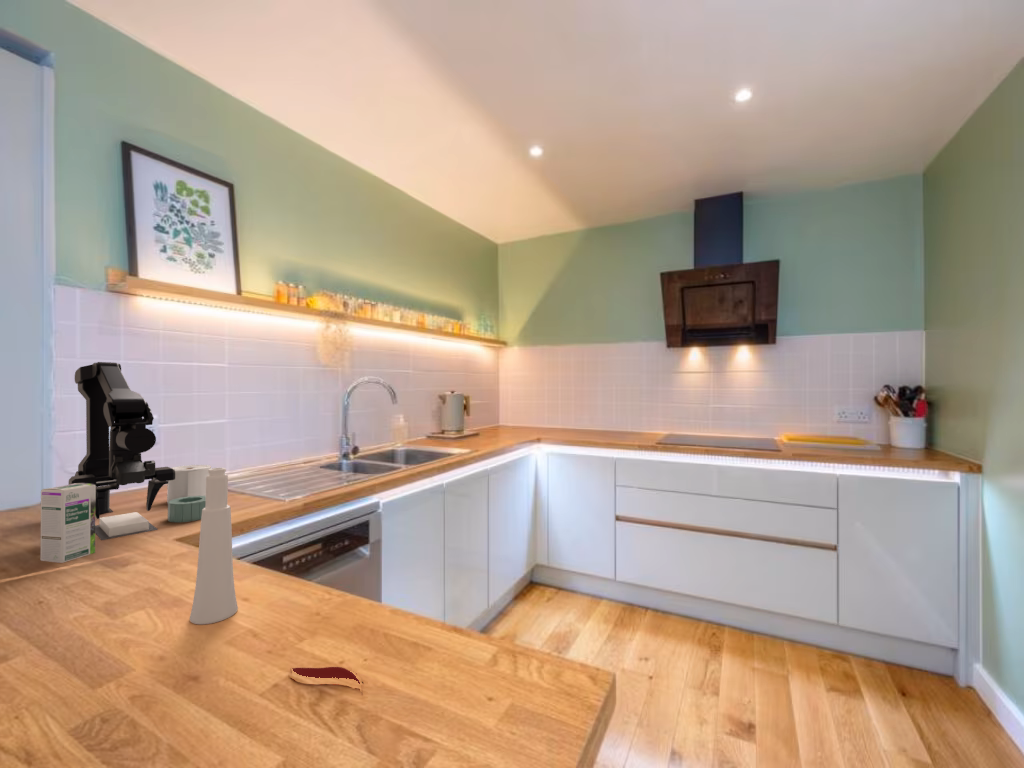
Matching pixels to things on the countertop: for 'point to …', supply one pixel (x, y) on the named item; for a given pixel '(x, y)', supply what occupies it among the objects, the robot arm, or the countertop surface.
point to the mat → (104, 536)
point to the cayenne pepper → (326, 672)
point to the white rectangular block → (123, 524)
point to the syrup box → (67, 522)
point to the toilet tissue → (188, 481)
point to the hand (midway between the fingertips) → (123, 514)
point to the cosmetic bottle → (215, 555)
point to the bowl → (186, 508)
